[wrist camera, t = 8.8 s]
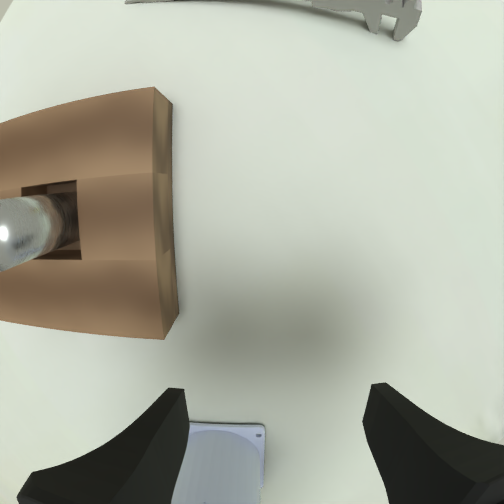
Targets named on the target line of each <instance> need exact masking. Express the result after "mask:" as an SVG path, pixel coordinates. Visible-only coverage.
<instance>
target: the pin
mask: <svg viewBox="0 0 504 504" xmlns="http://www.w3.org/2000/svg"><path fill="white" fill-rule="evenodd" d="M78 241H80V235H79V222H78V206H77V192H63V193H53V194H42V195H33V196H24V197H15V198H7V199H0V272H2V271H5V270H7V269H10V268H12V267H14V266H17V265H19V264H22V263H24V262H27V261H29V260H31V259H34V258H36V257H39V256H41V255H44V254H46V253H49V252H52V251H54V250H57V249H59V248H62V247H65V246H67V245H70V244H73V243H75V242H78Z"/></svg>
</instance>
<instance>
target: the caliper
mask: <svg viewBox="0 0 504 504" xmlns="http://www.w3.org/2000/svg"><path fill="white" fill-rule="evenodd" d="M164 1H172V0H126V1H125V4H131V3H136V2H141V3H148V2H164ZM304 1H311V2H312V6H313V7H314V8H327V9H331V10H334V11H357V12H362V13H363V15H364V18H365V20H366V23H367V25H368V28H369V30H370V32H372V33H375V34H377V31H378V30H379V28H380V23H381V15H382V14H383V15H387V16H390V17H394V18H397V20H396V24H395V27H394V30H393V40H396V41H399V40H402V39H403V38H404V37H405V36H406V35H408V34H409V33H410V32H411V31H412V30H413V29H414V28H415V27H416V26H417V24H418V21H419V18H420V15H421V12H422V4H421V0H304Z"/></svg>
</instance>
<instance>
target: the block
mask: <svg viewBox="0 0 504 504" xmlns="http://www.w3.org/2000/svg"><path fill="white" fill-rule="evenodd" d="M63 192H77V206H78V222H79V235H80V241H78V242H75V243H73V244H70V245H67V246H65V247H62V248H59V249H57V250H54V251H52V252H49V253H46V254H44V255H41V256H39V257H36V258H34V259H31V260H29V261H27V262H24V263H22V264H19V265H17V266H14V267H12V268H10V269H7V270H5V271H2V272H0V320H1V321H6V322H12V323H18V324H24V325H30V326H36V327H43V328H50V329H57V330H64V331H72V332H80V333H89V334H98V335H108V336H119V337H131V338H145V339H160V340H164V339H165V337H166V336H167V334H168V332H169V330H170V328H171V327H172V325H173V323H174V321H175V319H176V318H177V316H178V314H179V308H178V296H177V283H176V269H175V252H174V233H173V207H172V103H171V102H170V101H169V100H168V99H167V98H166V97H165V96H164V95H162V94H161V93H160V92H159V91H158V90H157V89H156V88H155V87H148V88H141V89H134V90H128V91H122V92H116V93H111V94H105V95H100V96H95V97H91V98H86V99H82V100H77V101H73V102H69V103H65V104H61V105H57V106H54V107H50V108H46V109H43V110H39V111H36V112H33V113H29V114H26V115H23V116H20V117H17V118H14V119H11V120H8V121H5V122H3V123H0V199H7V198H15V197H24V196H33V195H42V194H53V193H63Z"/></svg>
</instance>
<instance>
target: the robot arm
mask: <svg viewBox="0 0 504 504" xmlns="http://www.w3.org/2000/svg"><path fill="white" fill-rule="evenodd" d="M362 422H363V426H364V431H365V435H366V439H367V442H368V445H369V447H370V450H371V452H372V455H373V457H374V460H375V462H376V465H377V467H378V470H379V472H380V475H381V477H382V480H383V482H384V485H385V488H386V492H387V496H388V500H389V504H504V445H499V444H495V443H491V442H487V441H484V440H481V439H478V438H475V437H472V436H470V435H467V434H465V433H462V432H460V431H458V430H456V429H454V428H452V427H450V426H448V425H446V424H444V423H442V422H440V421H439V420H437V419H436V418H434V417H432V416H431V415H429V414H428V413H426V412H425V411H423V410H422V409H420V408H419V407H418V406H416V405H415V404H414V403H412V402H411V401H410V400H408V399H407V398H406V397H404V396H403V395H402V394H400V393H399V392H398V391H396V390H395V389H394V388H393V387H391V386H390V385H388V384H387V383H386V382H385V383H378V384H372V385H371V389H370V393H369V397H368V402H367V406H366V409H365V413H364V417H363V421H362ZM258 433H259V434H258ZM264 447H265V428H264V426H262V425H231V424H206V423H191V422H189V417H188V411H187V405H186V399H185V393H184V389H179V388H168V389H167V390H166V391H165V392H164V393H163V394H162V395H161V396H160V397H159V398H158V399H157V400H156V401H155V402H154V403H153V404H152V405H151V406H150V407H149V408H148V409H147V410H146V411H145V412H144V413H143V414H142V415H141V416H140V417H139V418H138V419H137V420H135V421H134V422H133V423H132V424H131V425H129V426H128V427H127V428H126V429H125V430H123V431H122V432H121V433H120V434H118V435H117V436H116V437H114V438H113V439H111V440H110V441H108V442H107V443H105V444H104V445H102V446H100V447H99V448H97V449H95V450H93V451H91V452H89V453H87V454H85V455H83V456H81V457H79V458H77V459H74V460H72V461H69V462H66V463H64V464H61V465H58V466H55V467H51V468H47V469H43V470H39V471H35V472H32V473H31V475H30V476H29V478H28V479H27V481H26V482H25V484H24V485H23V487H22V489H21V490H20V492H19V493H18V495H17V500H18V502H19V504H260V488H262V487H263V480H264Z"/></svg>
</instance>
